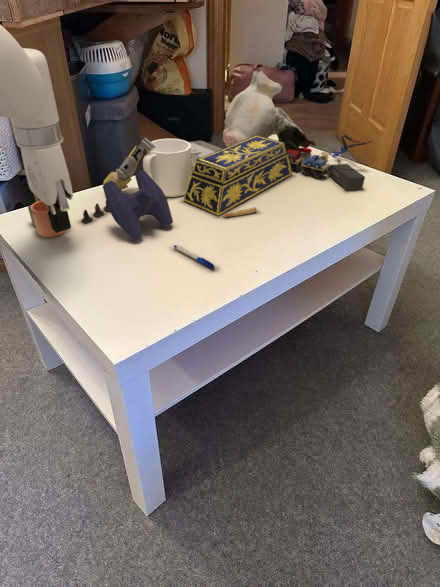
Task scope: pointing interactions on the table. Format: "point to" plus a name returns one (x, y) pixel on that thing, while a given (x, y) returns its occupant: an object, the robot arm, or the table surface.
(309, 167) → the toy train
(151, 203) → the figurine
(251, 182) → the decorative box
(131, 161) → the toy
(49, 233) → the cup
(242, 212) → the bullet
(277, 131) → the rock
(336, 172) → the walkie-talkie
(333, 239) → the table surface
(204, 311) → the table surface
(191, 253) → the ballpoint pen
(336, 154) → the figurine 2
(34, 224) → the stop block
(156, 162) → the mug
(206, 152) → the skate ramp
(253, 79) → the crumpled bag
